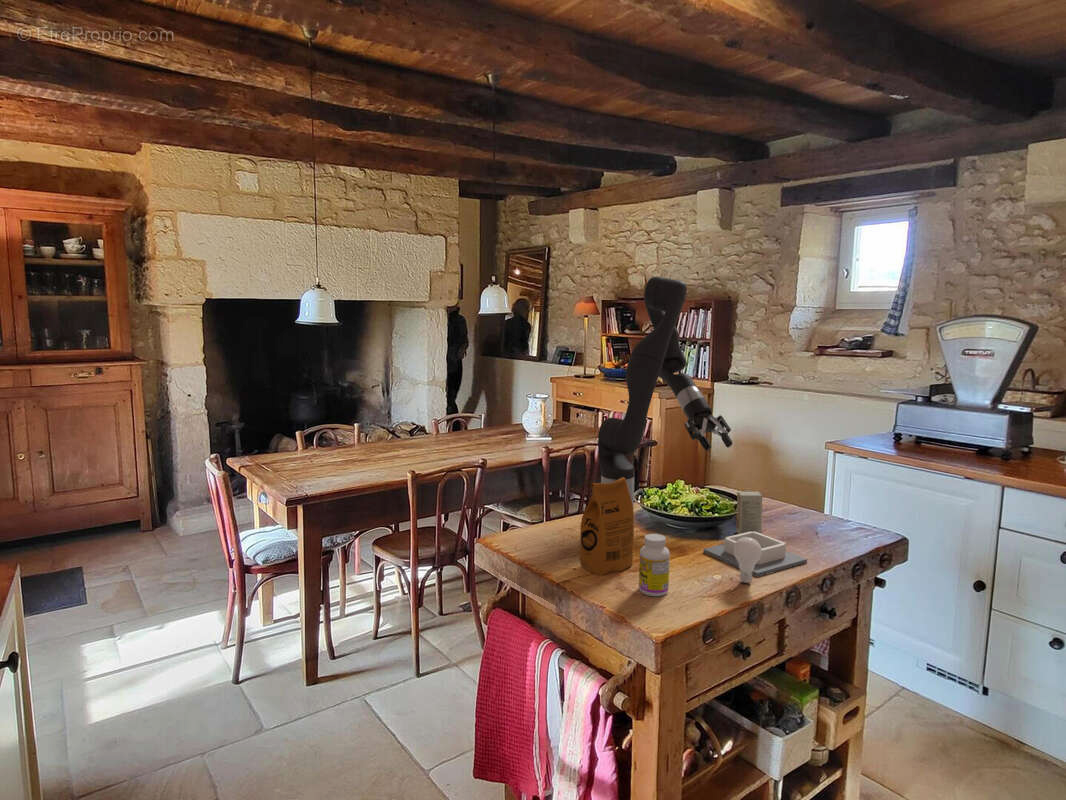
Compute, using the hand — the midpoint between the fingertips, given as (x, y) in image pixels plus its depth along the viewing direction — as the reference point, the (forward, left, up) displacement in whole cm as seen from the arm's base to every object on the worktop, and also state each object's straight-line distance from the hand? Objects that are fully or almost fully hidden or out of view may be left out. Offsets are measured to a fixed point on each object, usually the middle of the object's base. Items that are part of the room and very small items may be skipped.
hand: (719, 447), depth 194 cm
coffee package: (-49, -11, -23) cm, 55 cm away
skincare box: (0, -12, -23) cm, 26 cm away
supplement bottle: (-48, -28, -23) cm, 60 cm away
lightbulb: (-26, -35, -23) cm, 50 cm away
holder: (-12, -25, -23) cm, 36 cm away
